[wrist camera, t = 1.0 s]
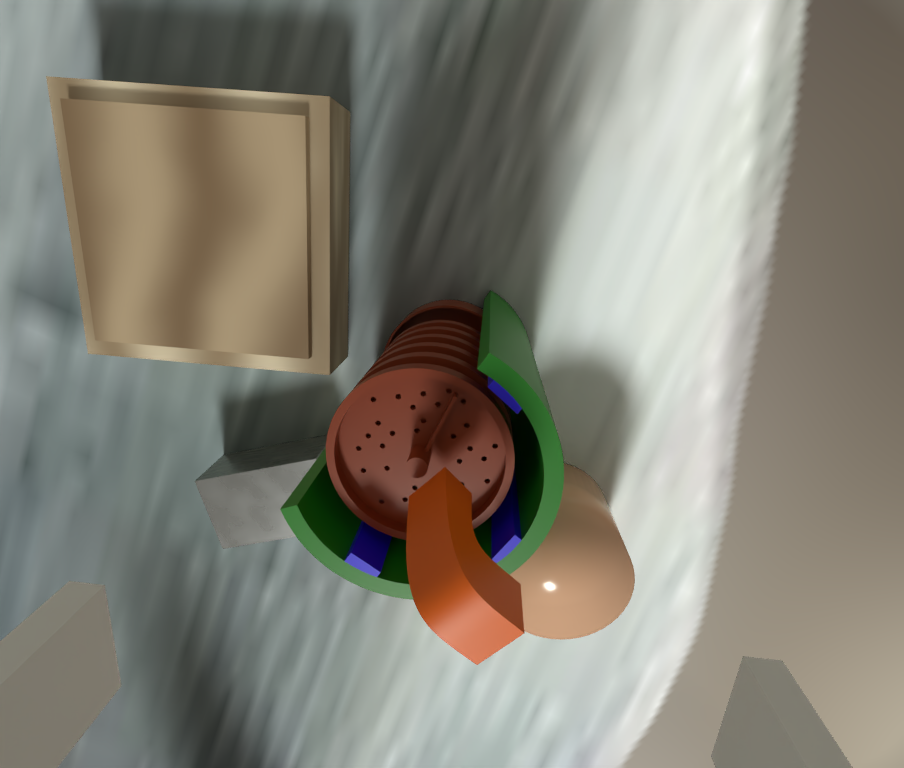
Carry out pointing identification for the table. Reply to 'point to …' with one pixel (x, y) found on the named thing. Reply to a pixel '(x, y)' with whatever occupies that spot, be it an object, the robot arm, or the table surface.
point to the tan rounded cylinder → (576, 567)
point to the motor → (440, 474)
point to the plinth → (207, 222)
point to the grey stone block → (256, 490)
